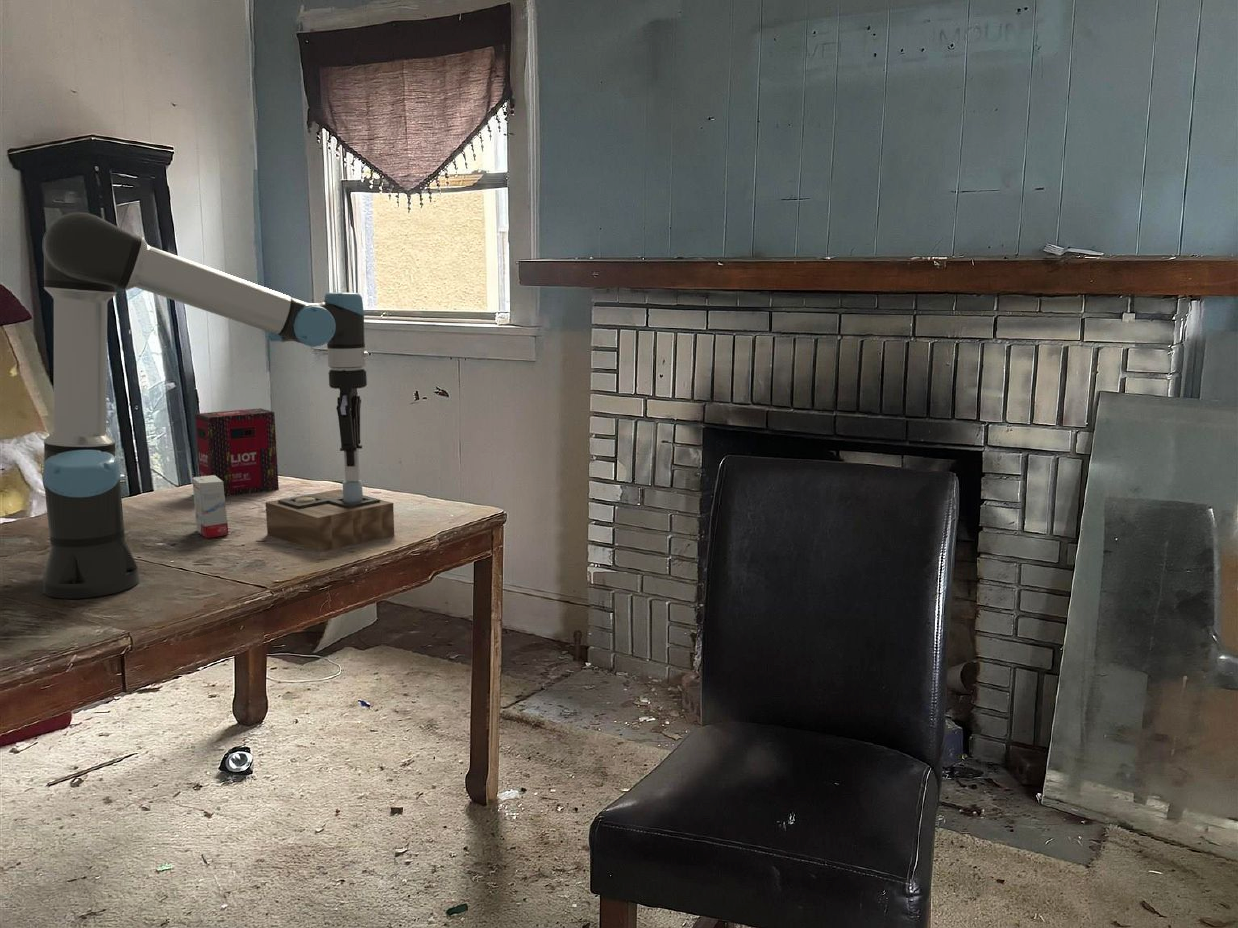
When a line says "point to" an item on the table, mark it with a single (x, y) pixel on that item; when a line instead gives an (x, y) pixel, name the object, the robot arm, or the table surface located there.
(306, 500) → the birch peg rear
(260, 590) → the table surface
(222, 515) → the ink box
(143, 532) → the table surface
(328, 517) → the walnut block
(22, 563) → the table surface
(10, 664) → the table surface
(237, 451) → the box
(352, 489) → the slate peg front
